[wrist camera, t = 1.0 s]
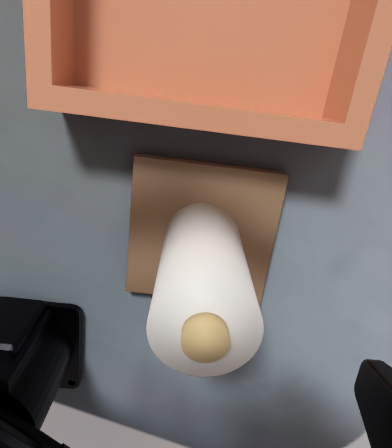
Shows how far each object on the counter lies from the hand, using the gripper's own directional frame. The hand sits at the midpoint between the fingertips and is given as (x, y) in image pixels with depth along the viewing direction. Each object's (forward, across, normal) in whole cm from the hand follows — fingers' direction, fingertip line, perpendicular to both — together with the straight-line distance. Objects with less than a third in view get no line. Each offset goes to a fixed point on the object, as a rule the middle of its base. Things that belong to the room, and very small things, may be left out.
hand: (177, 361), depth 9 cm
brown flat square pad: (+12, -1, +2) cm, 12 cm away
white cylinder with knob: (+11, -1, +2) cm, 11 cm away
